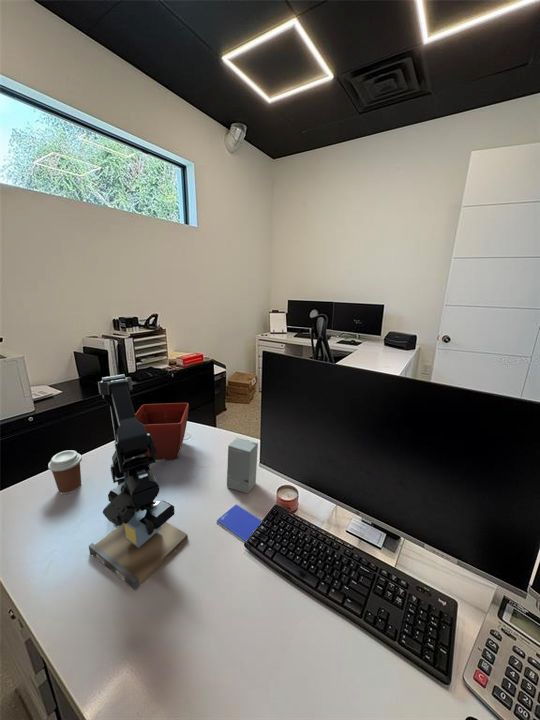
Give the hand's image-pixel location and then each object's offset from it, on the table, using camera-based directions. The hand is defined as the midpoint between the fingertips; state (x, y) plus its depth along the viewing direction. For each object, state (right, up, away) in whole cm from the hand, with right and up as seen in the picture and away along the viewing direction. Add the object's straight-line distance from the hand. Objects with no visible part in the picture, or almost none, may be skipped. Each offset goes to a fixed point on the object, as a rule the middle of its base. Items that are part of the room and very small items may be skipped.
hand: (143, 529), depth 78 cm
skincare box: (+24, +2, +23) cm, 34 cm away
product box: (0, -1, 0) cm, 1 cm away
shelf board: (-1, -4, 0) cm, 4 cm away
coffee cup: (-33, +2, +21) cm, 39 cm away
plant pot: (-10, +8, +42) cm, 44 cm away
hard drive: (+25, -3, +7) cm, 26 cm away
